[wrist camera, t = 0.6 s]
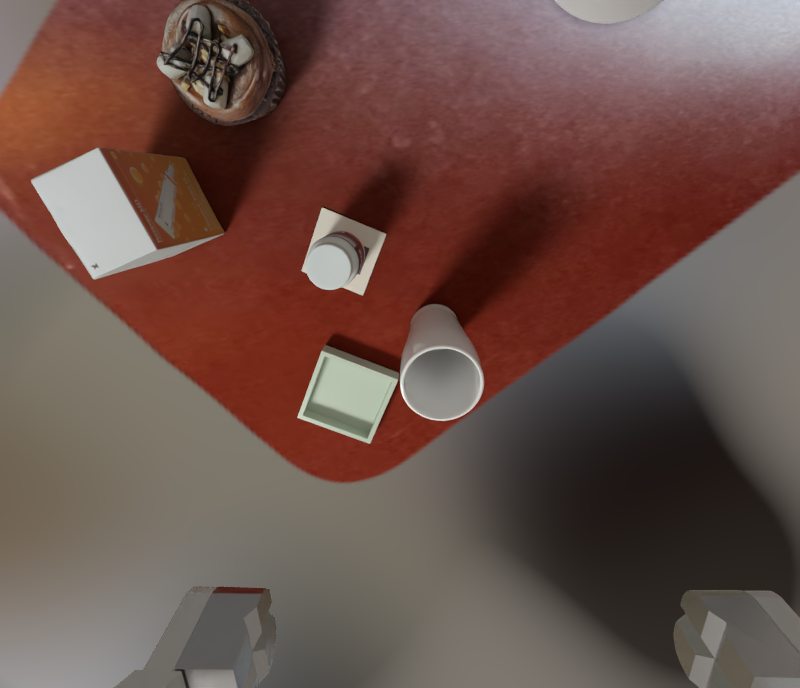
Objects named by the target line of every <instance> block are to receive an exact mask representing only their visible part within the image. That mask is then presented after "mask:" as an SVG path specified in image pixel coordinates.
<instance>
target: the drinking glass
mask: <svg viewBox="0 0 800 688" xmlns="http://www.w3.org/2000/svg"><path fill="white" fill-rule="evenodd" d="M400 388H401V392H402V396H403V398H404V400H405V402H406V403H407V404H408V406H409V407H410V408H411V409H412V410H413V411H414V412H416V413H417V414H419V415H421V416H423V417H425V418H428V419H431V420H438V421H445V420H452V419H455V418H458V417H460V416H463V415H464V414H466V413H467V412H469V411H470V410H471V409H472V408H473V407H474V406H475V405H476V404H477V402H478V401H479V399H480V397H481V395H482V392H483V388H484V376H483V372H482V367H481V363H480V360H479V357H478V354H477V352H476V350H475V348H474V346H473V344H472V342H471V341H470V339H469V338H468V336H467V335H466V333H465V331H464V330H463V328H462V327H461V325H460V323H459V321H458V318H457V316H456V315H455V313H454V312H453V311H452V310H451V309H449V308H448V307H446V306H444V305H440V304H430V305H426V306H424V307H422V308H421V309H419V310H418V311H417V312H416V313H415V315H414V316H413V318H412V320H411V324H410V331H409V334H408V337H407V341H406V344H405V347H404V350H403V354H402V358H401V365H400Z"/></svg>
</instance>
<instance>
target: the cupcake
mask: <svg viewBox="0 0 800 688" xmlns="http://www.w3.org/2000/svg"><path fill="white" fill-rule="evenodd" d="M159 53H160V57H158V59H157V65H158V67H159V68H160V70H161V71H162V72H163V73H164V74H165V75H167V76H168V77H169V78H170V79H171V82H173V84H174V86H175V90H176V91H177V92H178V94H179V95H180V97H181V99H182V100H183V101H184V102H185V104H186V105H187V106H188V107H189V108H190V109H191V110H192V111H193V112H194V113H196V114H197V115H198V116H200V117H202V118H204V119H206V120H208V121H209V122H211V123H213V124H219V125H225V126H234V125H238V124H243V123H246V122H249V121H253V120H257V119H260V118H262V117H265V116H266V115H267V114H270V113H271V112H273V111H274V110H275V109H276V107H277V105H278V101H279V100H280V99H281V98H282V96H283V94H284V92H285V87H286V79H285V66H284V62H283V60H282V56H281V54H280V51H279V48H278V44H277V41H276V40H275V38H274V34H273V32H272V30H270V25H269V23H268V22H267V21H265V20H264V18H263V17H262V15H261V14H260V12H257V10H256V8H255V7H254V6H252V7H251V6H250V4H249V2H248V0H247V1H246V0H244V1H242V0H181V1H180V2H179V3H178V4H177V5H176V6H175V7H174V9H173V10H172V12H171V14H170V16H169V18H168V20H167V22H166V28H165V34H164V39H163V44H162V51H161V52H159Z"/></svg>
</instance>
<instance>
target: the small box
mask: <svg viewBox="0 0 800 688" xmlns="http://www.w3.org/2000/svg"><path fill="white" fill-rule="evenodd" d="M31 182H32V184H33V186H34V187H35V189H36V191H37V192H38V194H39V195H40V197H41V199H42V200H43V202H44V204H45V205H46V207H47V208H48V210H49V211H50V213H51V215H52V216H53V218H54V220H55V221H56V223H57V225H58V227H59V229H60V230H61V232H62V234H63V235H64V237H65V238H66V240H67V241H68V242H69V244H70V245H71V246H72V248H73V249H74V250H75V252H76V254H77V255H78V257H79V258H80V260H81V261H82V263H83V264H84V266H85V267H86V269H87V270H88V272H89V273H90V275H91V277H92V278H93V279H98V278H101V277H105V276H108V275H111V274H115V273H118V272H121V271H125V270H128V269H131V268H135V267H138V266H142V265H145V264H149V263H153V262H156V261H159V260H162V259H165V258H168V257H171V256H174V255H177V254H179V253H182V252H184V251H186V250H188V249H191V248H193V247H195V246H198V245H200V244H202V243H204V242H207V241H209V240H211V239H214V238H216V237H218V236H221V235H223V234H224V233H225V232H224V230H223V228H222V227H221V225H220V223H219V222H218V220H217V218H216V216H215V214H214V212H213V211H212V209H211V207H210V205H209V203H208V201H207V199H206V197H205V195H204V193H203V192H202V190H201V188H200V186H199V184H198V182H197V180H196V178H195V176H194V174H193V172H192V170H191V168H190V166H189V164H188V162H187V160H186V158H183V157H174V156H166V155H159V154H150V153H141V152H133V151H125V150H116V149H108V148H96V149H94V150H92V151H90V152H88V153H86V154H84V155H81V156H79V157H77V158H75V159H73V160H71V161H69V162H67V163H65V164H63V165H60V166H58V167H56V168H54V169H52V170H50V171H48V172H46V173H44V174H42V175H39V176H37V177H35V178H33V179H32V180H31Z"/></svg>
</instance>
